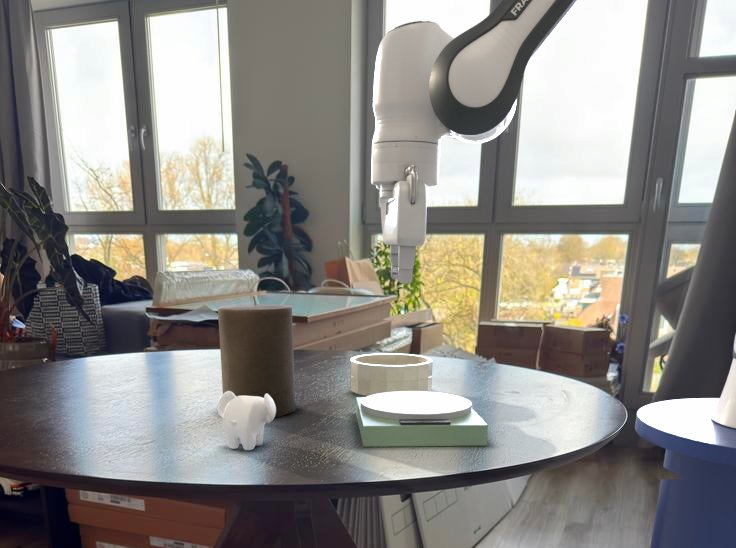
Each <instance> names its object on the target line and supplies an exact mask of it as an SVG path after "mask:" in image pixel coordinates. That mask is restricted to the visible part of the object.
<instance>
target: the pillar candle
mask: <svg viewBox="0 0 736 548" xmlns="http://www.w3.org/2000/svg"><path fill="white" fill-rule="evenodd" d="M252 299H253V304H246V303H245V304H228V305H222V306H218V307H217V319H218V332H219V334H218V335H219V347H220V348H219V350H220V351H219V352H220V364H221V365H220V366H221V367H220V369H221V388H222V395H223V394H224V393H225V392H227V391H231V392H233V393H234V394H235V396H257V397H262V398H264V396H265V394H269V396H270V397H271V398H272V399H273V401H274V403H275V406H276V414H275V417H274V418H276V417H277V418H280V417H283V416H286V415H289V414H292V413H294V412H295V411H296V385H295V383H296V381H295V357H294V356H295V355H294V353H295V352H294V351H295V350H294V328H293V325H294V324H293V306H292V305H289V304H278V303H277V304H274V303H272V304H271V303H270V304H269V303H268V304H267V303H266V304H265V303H264V304H262V303H257V300H256V297H255V295H253V296H252Z"/></svg>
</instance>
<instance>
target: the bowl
mask: <svg viewBox="0 0 736 548" xmlns="http://www.w3.org/2000/svg"><path fill="white" fill-rule="evenodd" d="M433 361H434V360H433V359H432V358H430V357H427V356H423V355H419V354H418V355H417V354H409V353H370V354H361V355H356V356H353V357H351V358H350V363H349V364H350V365H349V367H350V374H349V377H350V380H349V381H350V383H349V385H350V392H353V393H355V394H357V395H358V396H359V397H367V396H370V395H373V394H378V393H385V392H396V391H427V392H432V390H433V389H432V384H433V367H434V366H433V365H434V364H433V363H434V362H433Z"/></svg>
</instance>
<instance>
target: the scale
mask: <svg viewBox="0 0 736 548" xmlns="http://www.w3.org/2000/svg"><path fill="white" fill-rule="evenodd" d="M355 398H356V399H355V403H356V404H355V405H356V406H355V414H356V419H357V420H356V421H357V424H358V429H359V434H360V437H361V443H362V447H364V448H365V447H367V448H368V447H369V448H371V447H373V448H374V447H376V448H377V447H381V448H382V447H383V448H384V447H387V448H388V447H468V446H469V447H480V446H481V447H483V446H484V447H485V446H487V444H488V432H489V425H488V423H487V422H486V421H484V419H483V418H482V417H481V416H480V415H479V413H477V412H476V411H475V409H473V403H472V401H471V400H470V399H468V398H466V397H464V396H460V395H457V394H451V393H447V392H437V391H430V392H427V391H396V392H385V393H378V394H373V395H370V396H367V397H363V396H357V397H355Z"/></svg>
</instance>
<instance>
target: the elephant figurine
mask: <svg viewBox="0 0 736 548" xmlns="http://www.w3.org/2000/svg"><path fill="white" fill-rule="evenodd" d="M216 408H217V414H218V416H219V417H220V418H222V429H223V434H224V437H225V441H226V444H227V447H228V449H231V450H236V449H238V448H239V447H240V445H242V448H243V450H245V451H253V450H254V449H255V447H257V446H262V445H263V441H264V431H265V430H264V429H265V425H266V423H267V424H270V423H272V422H273V420H274V419H275V418H276V417H275V414H276V406H275V403H274V401H273V399H272V398H271V397H270V396H269V394H265V396H264V398H262V397H257V396H235V394H234V393H233V392H231V391H227V392H225V393H224V394H223V393H222V394H221V396H220V397H219V399H218V402H217V404H216Z"/></svg>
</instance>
